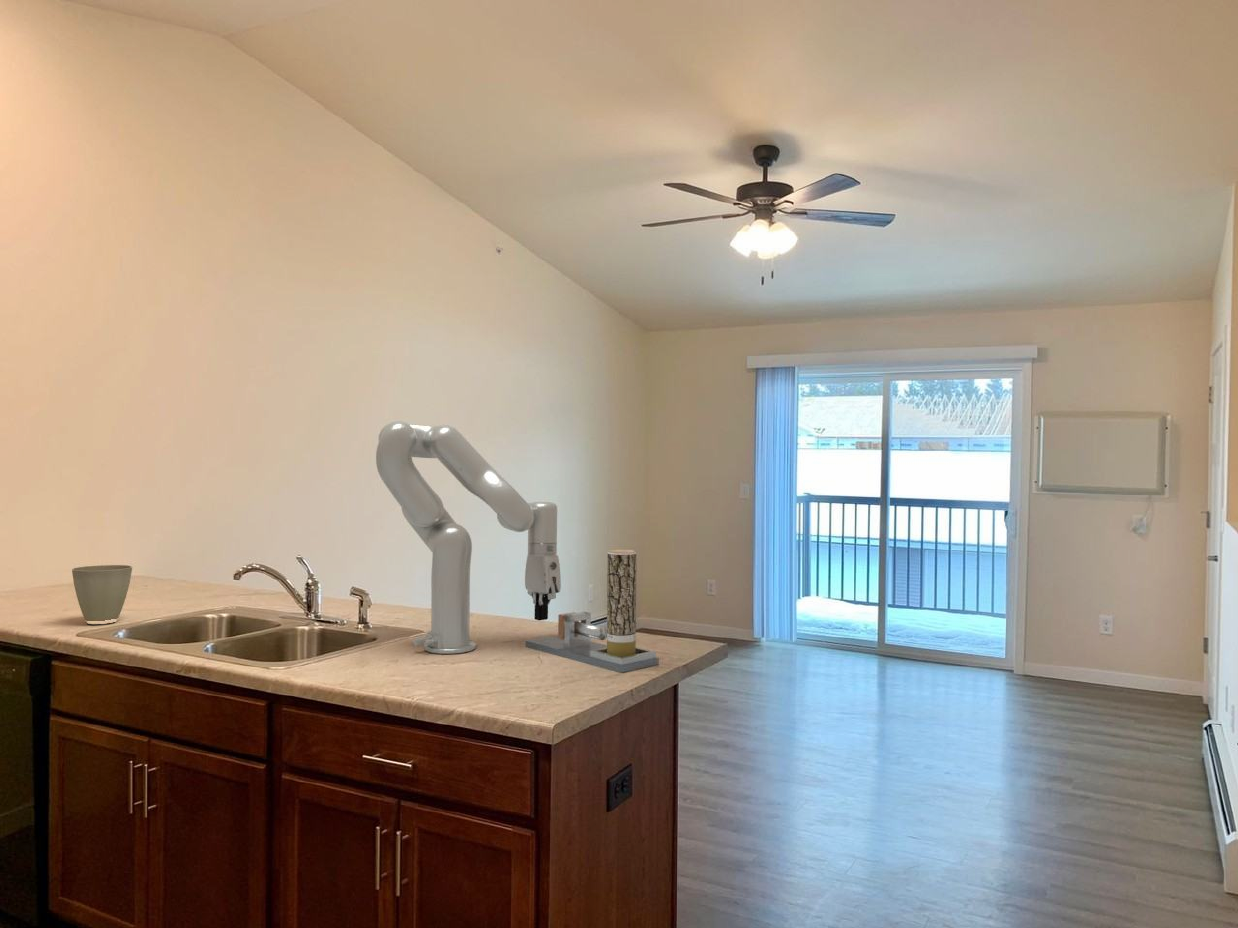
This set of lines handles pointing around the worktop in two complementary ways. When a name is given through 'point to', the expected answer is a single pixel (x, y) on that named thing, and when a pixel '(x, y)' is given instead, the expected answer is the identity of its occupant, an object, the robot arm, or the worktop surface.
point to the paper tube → (621, 603)
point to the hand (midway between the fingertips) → (541, 619)
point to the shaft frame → (590, 648)
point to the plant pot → (101, 590)
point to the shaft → (581, 629)
